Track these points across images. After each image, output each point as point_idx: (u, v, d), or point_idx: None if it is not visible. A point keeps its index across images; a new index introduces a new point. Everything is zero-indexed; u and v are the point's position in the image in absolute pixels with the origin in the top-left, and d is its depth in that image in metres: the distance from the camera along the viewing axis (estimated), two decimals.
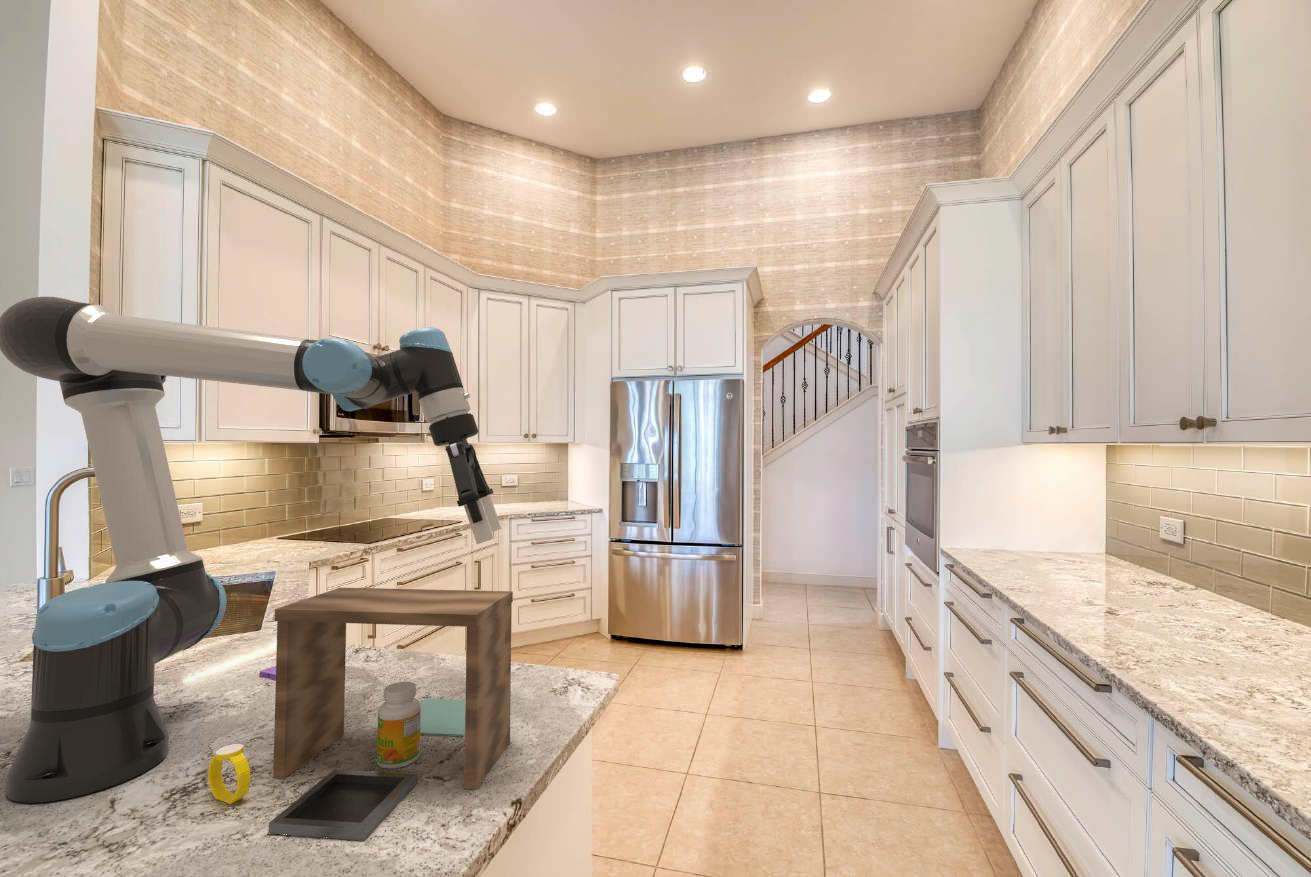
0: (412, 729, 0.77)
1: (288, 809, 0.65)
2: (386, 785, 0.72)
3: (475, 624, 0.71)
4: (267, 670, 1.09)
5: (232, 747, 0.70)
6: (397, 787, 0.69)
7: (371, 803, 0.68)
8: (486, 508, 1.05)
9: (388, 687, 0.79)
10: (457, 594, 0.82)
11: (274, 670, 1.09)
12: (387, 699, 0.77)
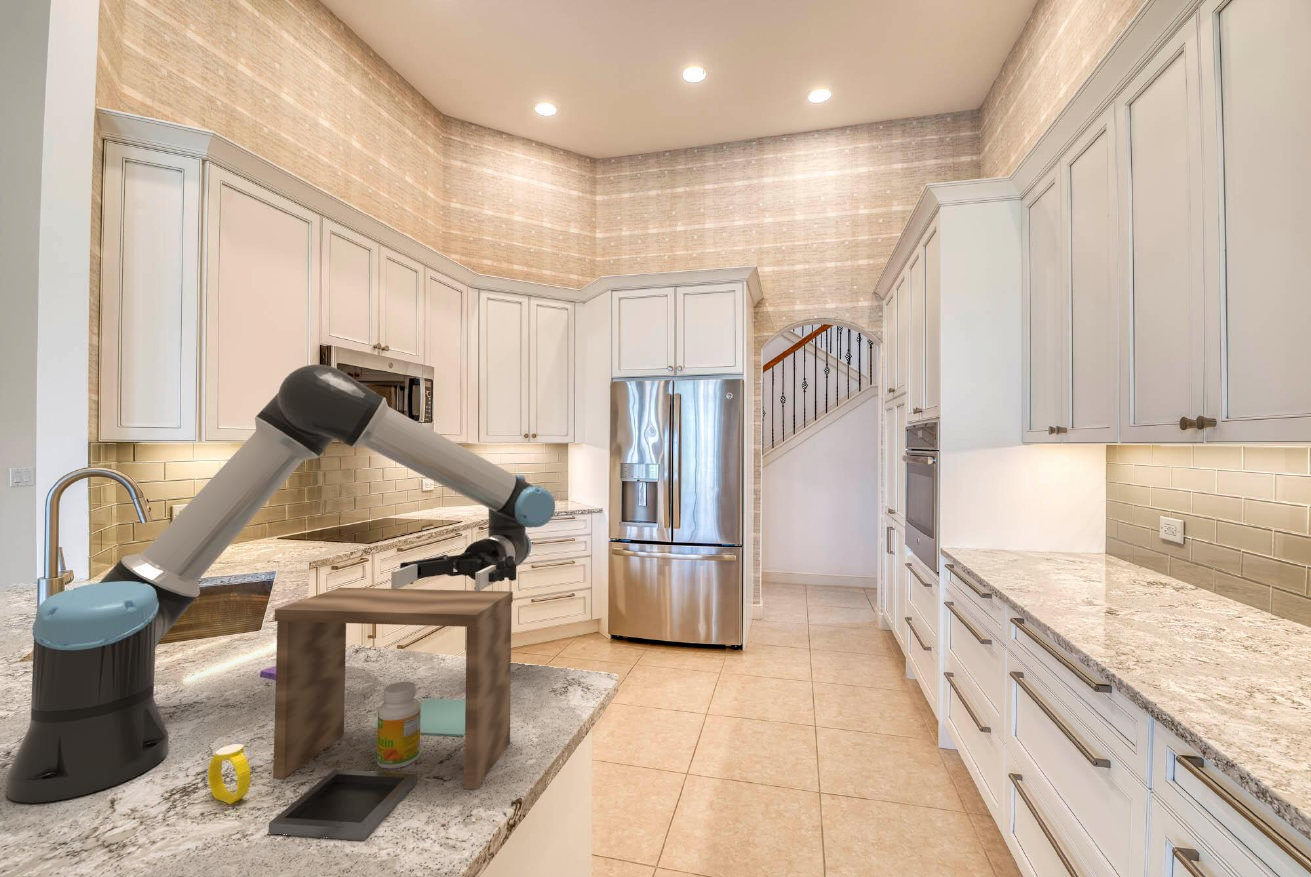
0: (412, 729, 0.77)
1: (288, 809, 0.65)
2: (386, 785, 0.72)
3: (475, 624, 0.71)
4: (268, 670, 1.09)
5: (232, 747, 0.70)
6: (397, 787, 0.69)
7: (371, 803, 0.68)
8: (410, 575, 0.94)
9: (388, 687, 0.79)
10: (457, 594, 0.82)
11: (275, 670, 1.09)
12: (387, 699, 0.77)
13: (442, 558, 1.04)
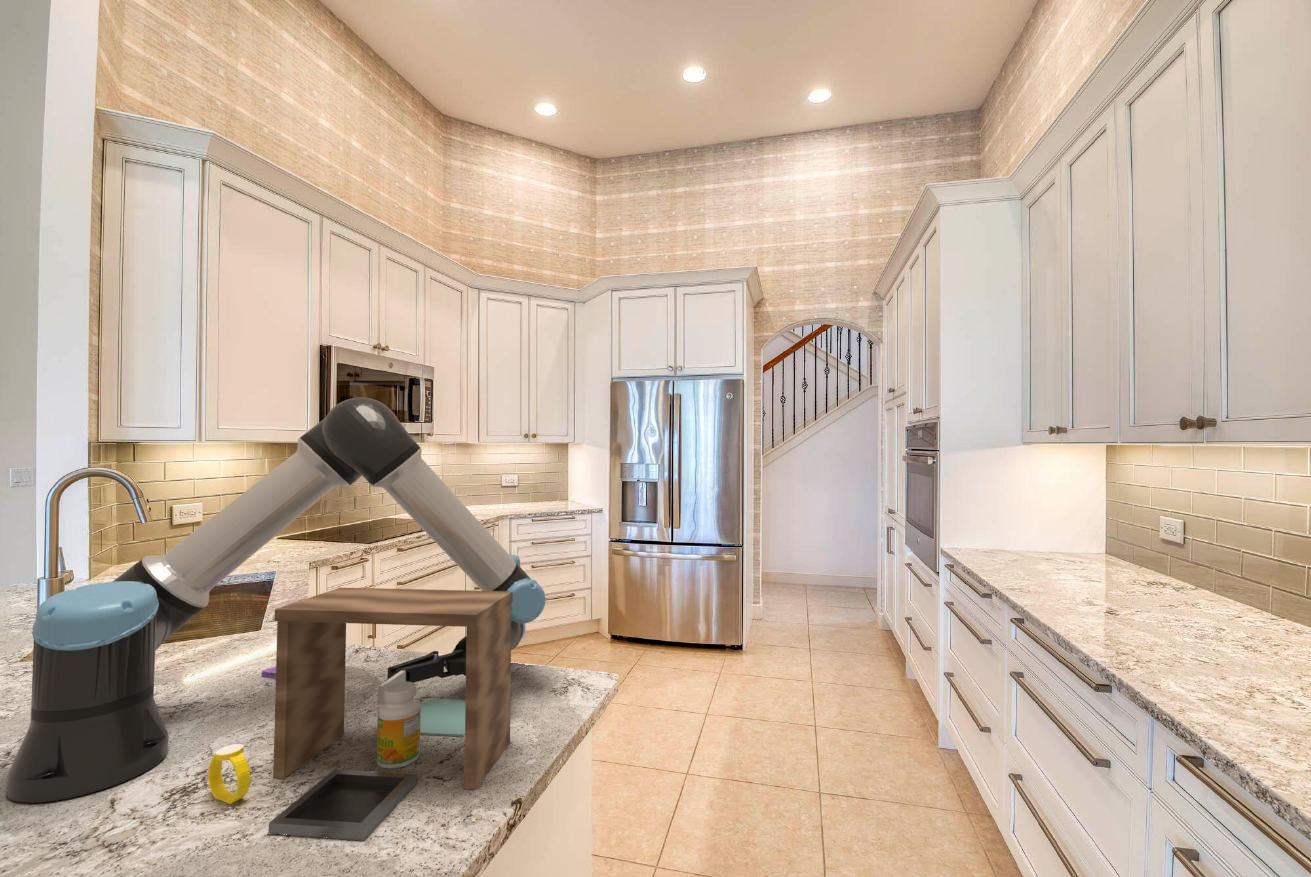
0: (412, 729, 0.77)
1: (288, 809, 0.65)
2: (386, 785, 0.72)
3: (475, 624, 0.71)
4: (269, 670, 1.09)
5: (232, 747, 0.70)
6: (397, 787, 0.69)
7: (371, 803, 0.68)
8: None
9: (388, 687, 0.79)
10: (457, 594, 0.82)
11: None
12: (387, 699, 0.77)
13: (432, 656, 0.99)
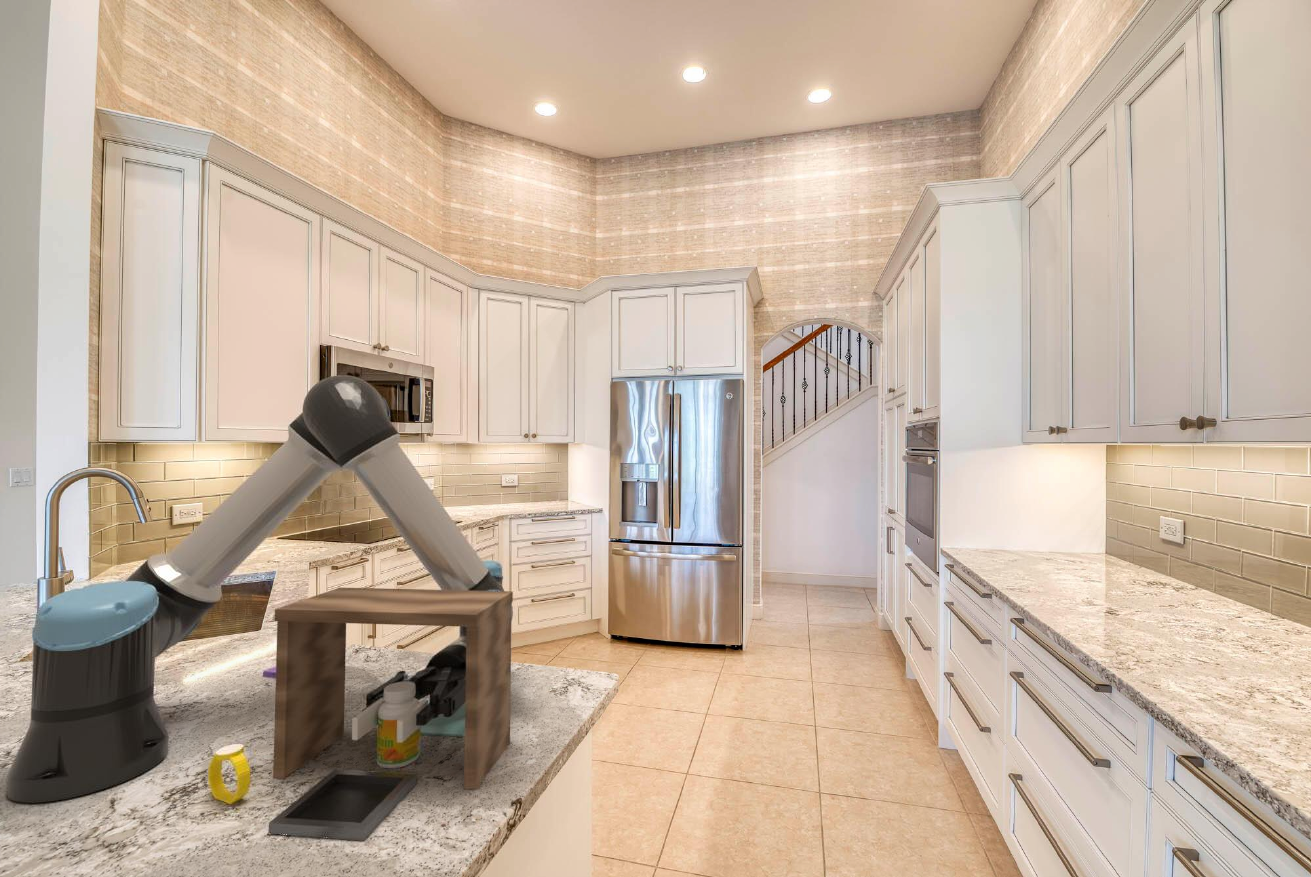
0: None
1: (288, 809, 0.65)
2: (386, 785, 0.72)
3: (475, 624, 0.71)
4: (271, 670, 1.09)
5: (232, 747, 0.70)
6: (397, 787, 0.69)
7: (371, 803, 0.68)
8: (377, 715, 0.78)
9: (388, 687, 0.79)
10: (457, 594, 0.82)
11: None
12: (387, 698, 0.77)
13: (403, 676, 0.89)
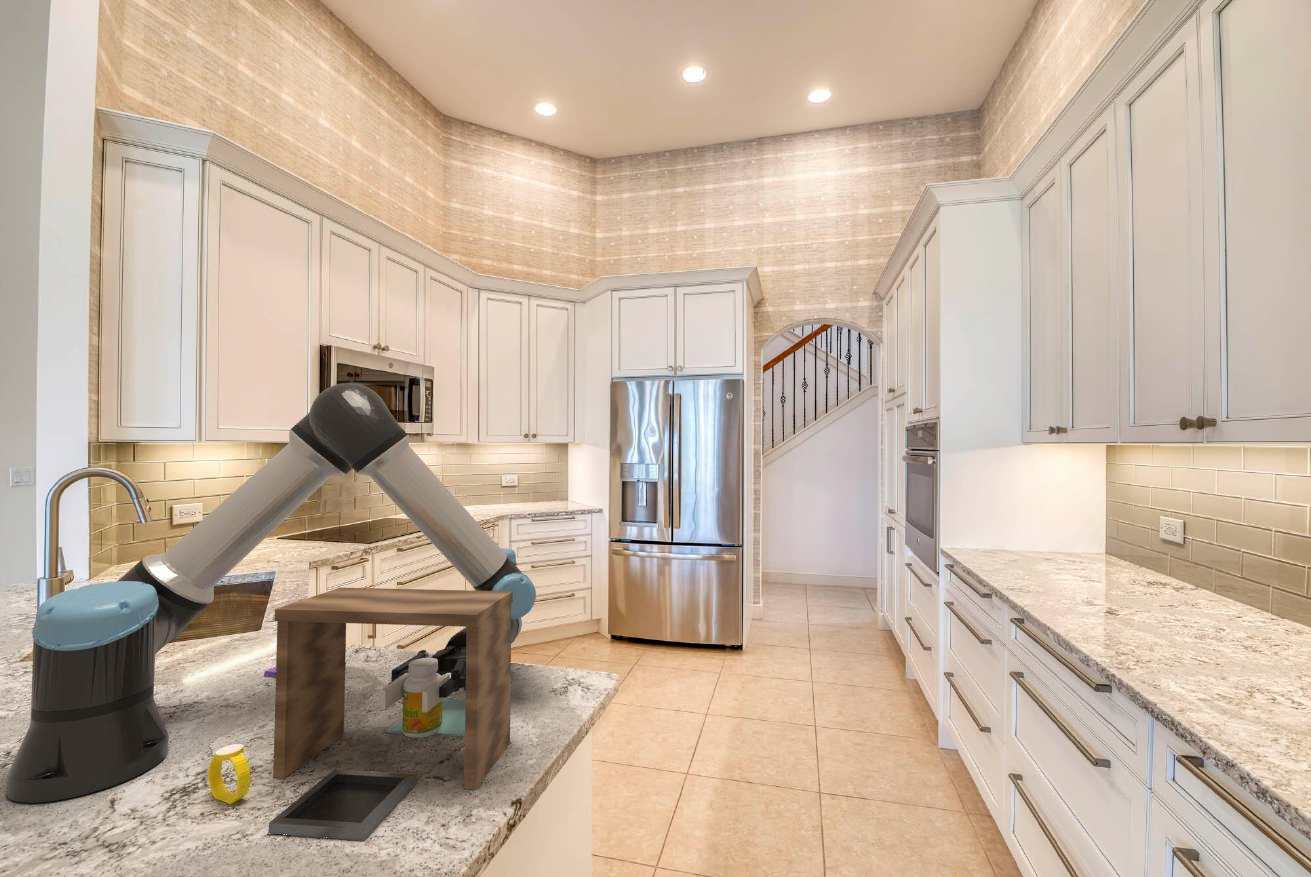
0: None
1: (288, 809, 0.65)
2: (386, 785, 0.72)
3: (475, 624, 0.71)
4: (272, 670, 1.09)
5: (232, 747, 0.70)
6: (397, 787, 0.69)
7: (371, 803, 0.68)
8: (402, 688, 0.83)
9: (412, 662, 0.84)
10: (457, 594, 0.82)
11: None
12: (411, 672, 0.82)
13: (424, 655, 0.94)
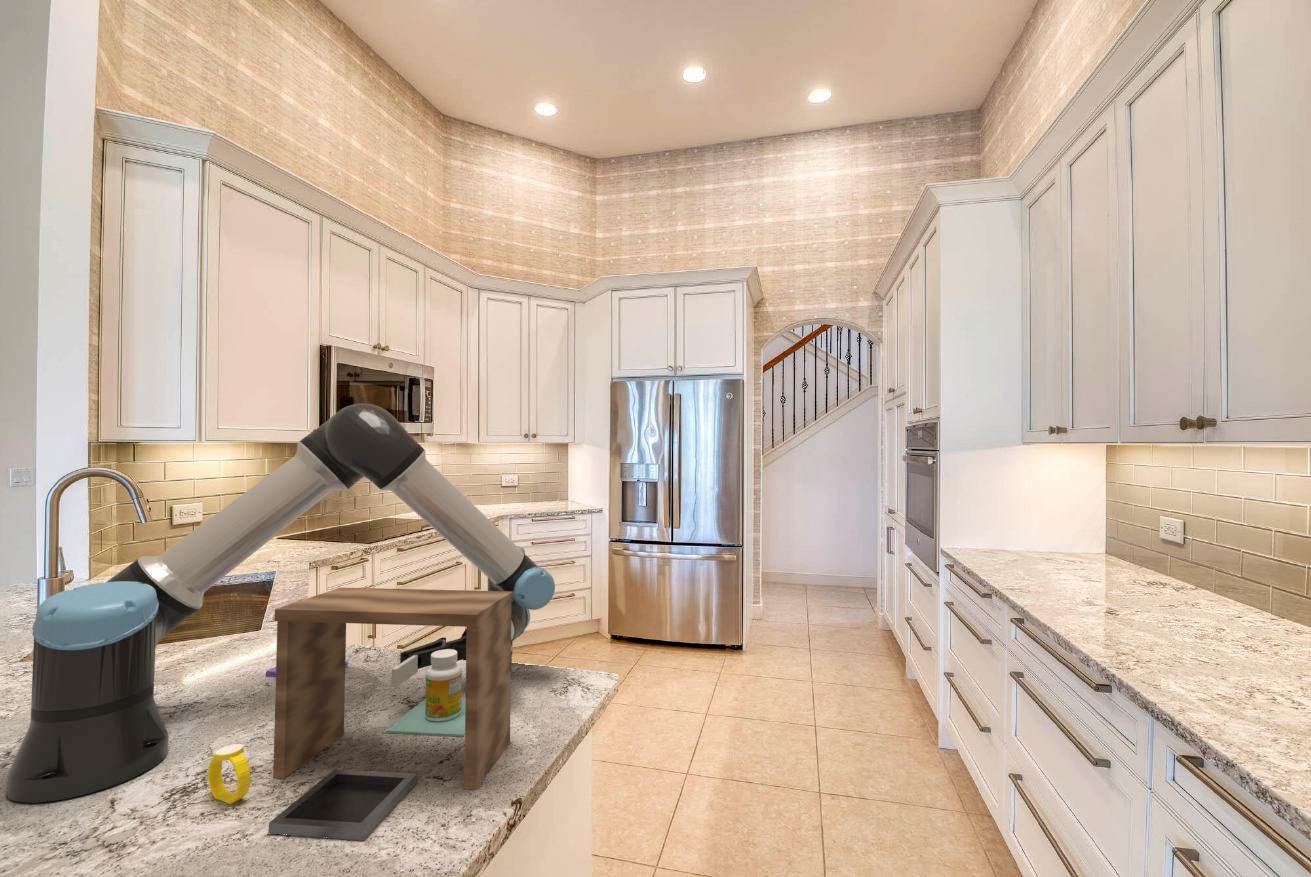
0: (455, 688, 0.90)
1: (288, 809, 0.65)
2: (386, 785, 0.72)
3: (475, 624, 0.71)
4: (274, 669, 1.09)
5: (232, 747, 0.70)
6: (397, 787, 0.69)
7: (371, 803, 0.68)
8: (411, 668, 0.93)
9: (434, 653, 0.92)
10: (457, 594, 0.82)
11: None
12: (434, 662, 0.90)
13: (441, 642, 1.03)
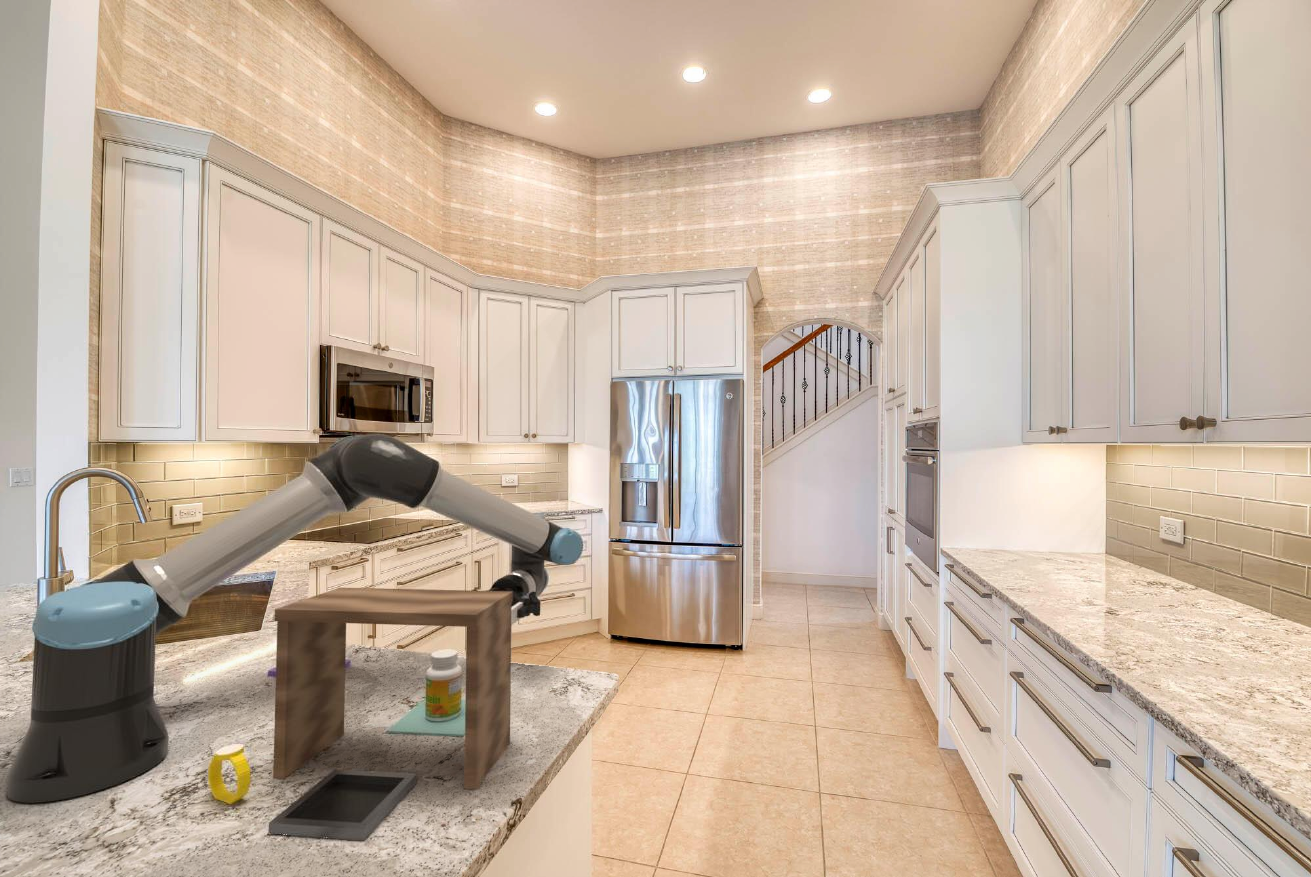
0: (455, 688, 0.90)
1: (288, 809, 0.65)
2: (386, 785, 0.72)
3: (475, 624, 0.71)
4: None
5: (232, 747, 0.70)
6: (397, 787, 0.69)
7: (371, 803, 0.68)
8: None
9: (434, 653, 0.92)
10: (457, 594, 0.82)
11: None
12: (434, 662, 0.90)
13: None
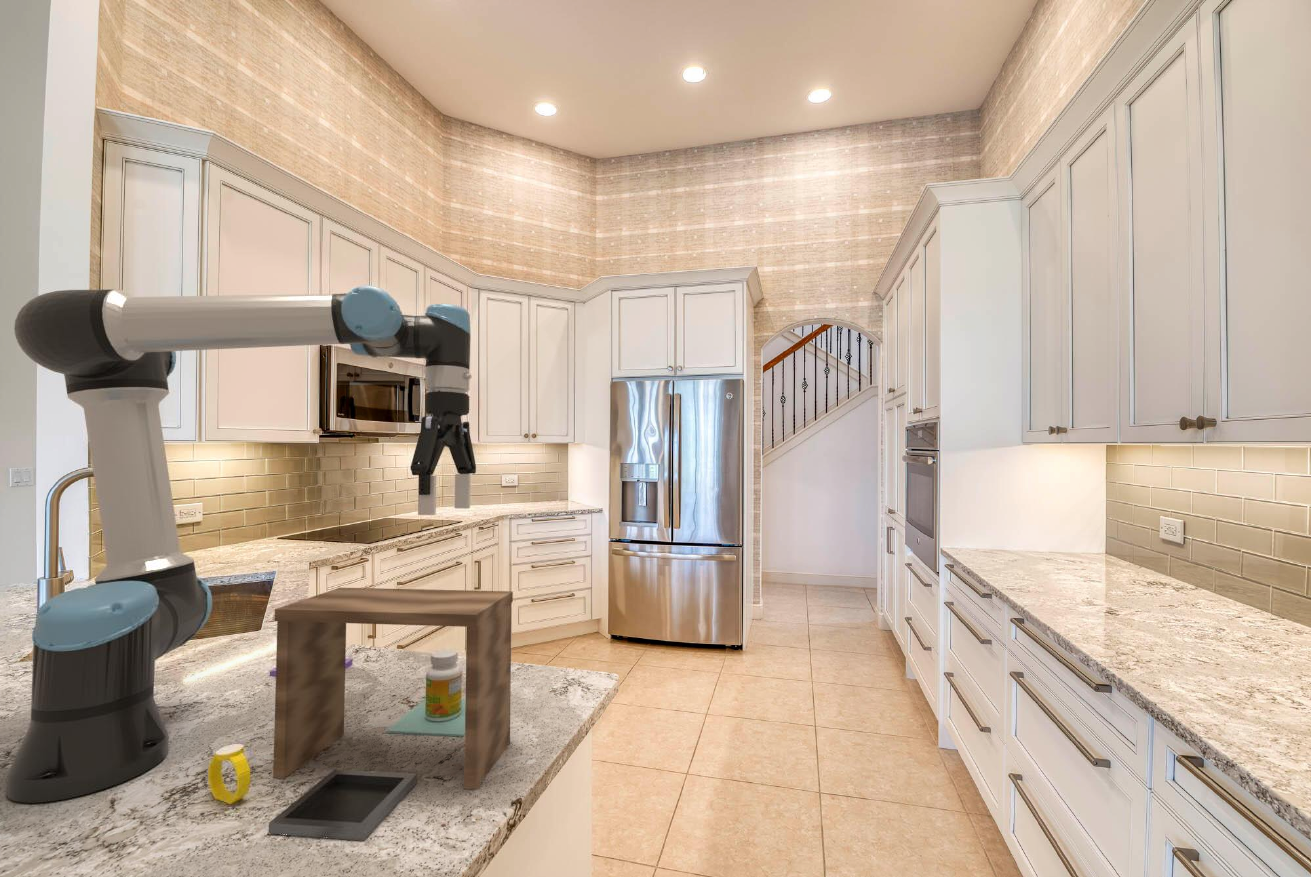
0: (455, 688, 0.90)
1: (288, 809, 0.65)
2: (386, 785, 0.72)
3: (475, 624, 0.71)
4: None
5: (232, 747, 0.70)
6: (397, 787, 0.69)
7: (371, 803, 0.68)
8: (462, 485, 1.09)
9: (434, 653, 0.92)
10: (457, 594, 0.82)
11: None
12: (434, 662, 0.90)
13: None
